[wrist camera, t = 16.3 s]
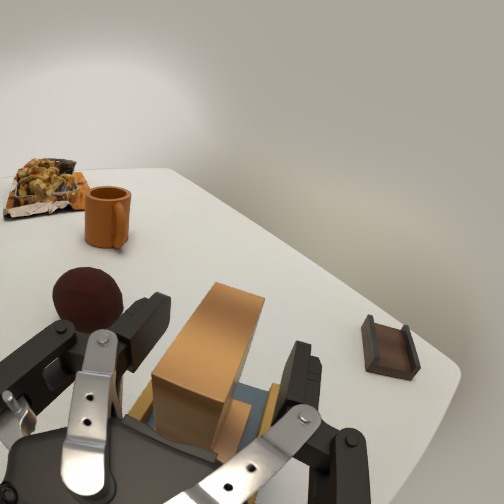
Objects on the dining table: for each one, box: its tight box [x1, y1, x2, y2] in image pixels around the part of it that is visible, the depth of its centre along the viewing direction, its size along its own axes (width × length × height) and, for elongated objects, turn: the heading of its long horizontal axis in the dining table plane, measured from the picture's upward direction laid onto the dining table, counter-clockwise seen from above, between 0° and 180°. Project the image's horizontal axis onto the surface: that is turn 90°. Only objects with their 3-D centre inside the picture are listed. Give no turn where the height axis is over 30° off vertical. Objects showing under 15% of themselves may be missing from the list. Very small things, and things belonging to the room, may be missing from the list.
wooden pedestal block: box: [151, 282, 265, 464], centre depth 13 cm, size 7×5×10 cm
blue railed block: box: [128, 379, 280, 504], centre depth 16 cm, size 12×9×9 cm
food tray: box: [3, 158, 90, 217], centre depth 61 cm, size 35×26×11 cm
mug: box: [85, 186, 131, 248], centre depth 47 cm, size 9×12×9 cm
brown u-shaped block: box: [361, 314, 421, 380], centre depth 37 cm, size 10×8×3 cm
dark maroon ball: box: [52, 267, 124, 334], centre depth 29 cm, size 8×9×8 cm
